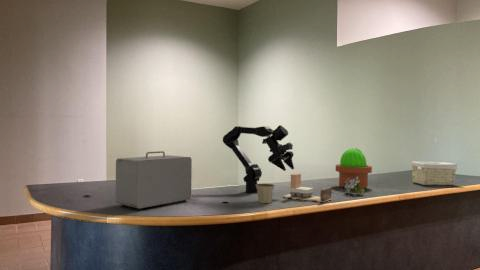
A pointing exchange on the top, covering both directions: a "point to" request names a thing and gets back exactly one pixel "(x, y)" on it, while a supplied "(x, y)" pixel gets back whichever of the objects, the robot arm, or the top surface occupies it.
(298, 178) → the brown piece
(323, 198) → the tan cardboard slab
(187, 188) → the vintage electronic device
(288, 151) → the robot arm
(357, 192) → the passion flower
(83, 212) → the top surface
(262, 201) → the flower pot
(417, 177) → the storage basket
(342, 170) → the potted cactus
